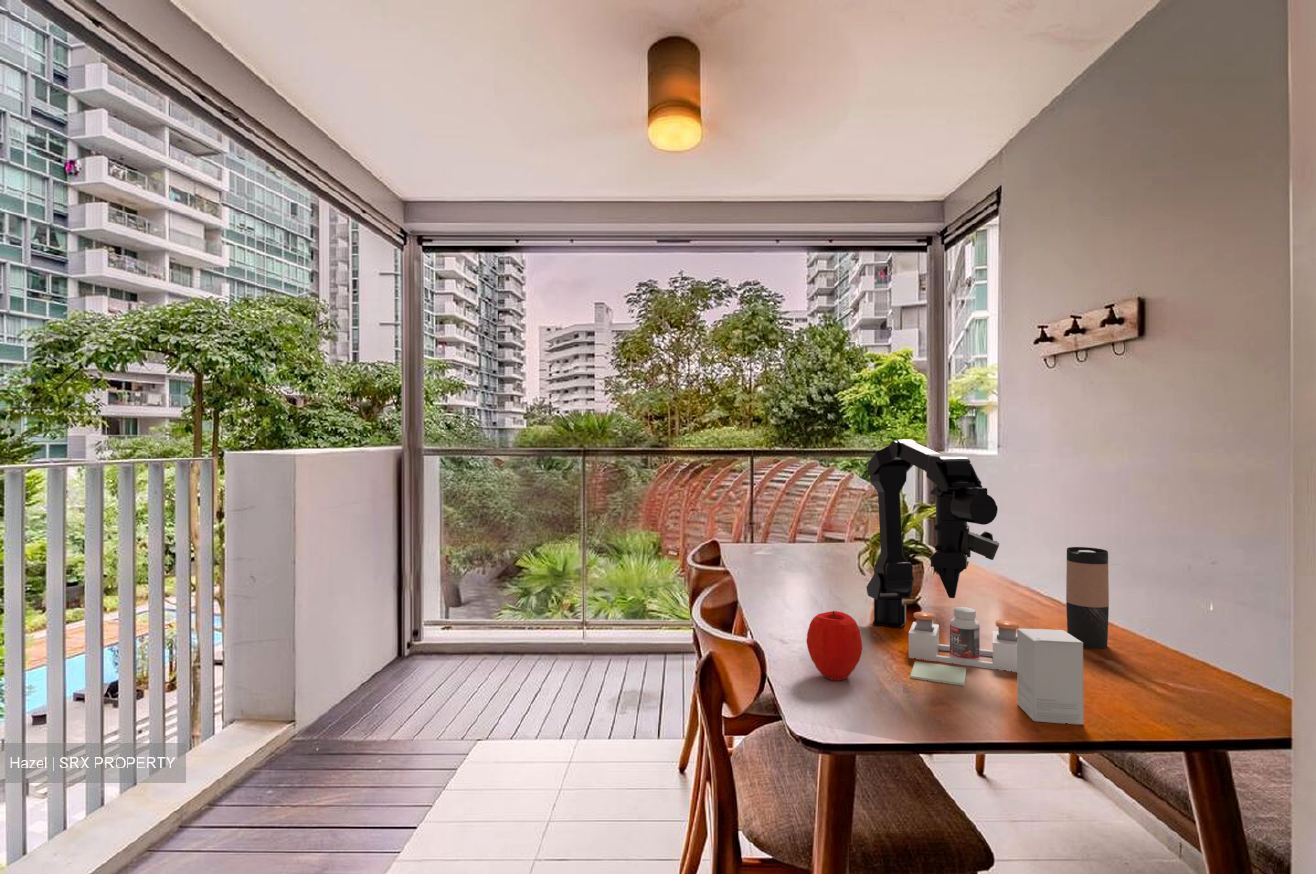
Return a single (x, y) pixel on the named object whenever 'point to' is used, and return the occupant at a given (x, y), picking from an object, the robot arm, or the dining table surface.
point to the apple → (834, 644)
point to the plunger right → (1007, 630)
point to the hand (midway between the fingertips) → (952, 597)
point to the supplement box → (1050, 675)
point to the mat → (938, 673)
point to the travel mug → (1087, 596)
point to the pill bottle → (964, 634)
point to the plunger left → (924, 621)
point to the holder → (928, 647)
